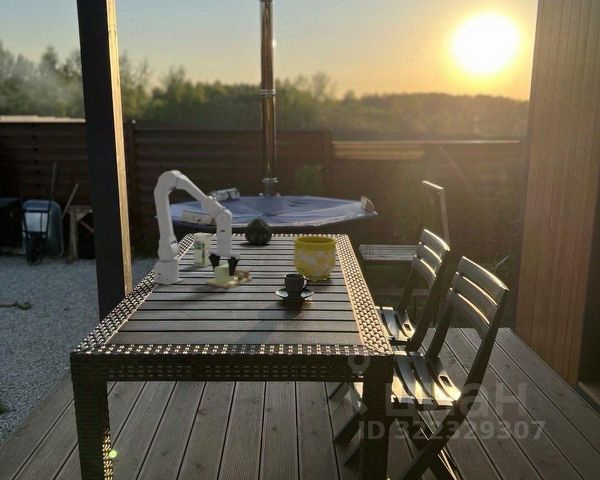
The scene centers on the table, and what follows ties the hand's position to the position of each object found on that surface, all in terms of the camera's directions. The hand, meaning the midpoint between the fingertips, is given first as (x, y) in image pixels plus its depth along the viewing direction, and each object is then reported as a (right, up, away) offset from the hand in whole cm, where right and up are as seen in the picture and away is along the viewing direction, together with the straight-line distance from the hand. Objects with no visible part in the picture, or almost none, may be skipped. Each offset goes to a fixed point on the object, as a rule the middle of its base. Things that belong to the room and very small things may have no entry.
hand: (223, 274), depth 233 cm
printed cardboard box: (-14, +2, +32) cm, 35 cm away
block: (0, -3, +1) cm, 3 cm away
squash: (+8, +11, +87) cm, 88 cm away
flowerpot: (+36, -3, +15) cm, 39 cm away
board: (+2, -3, +4) cm, 5 cm away
